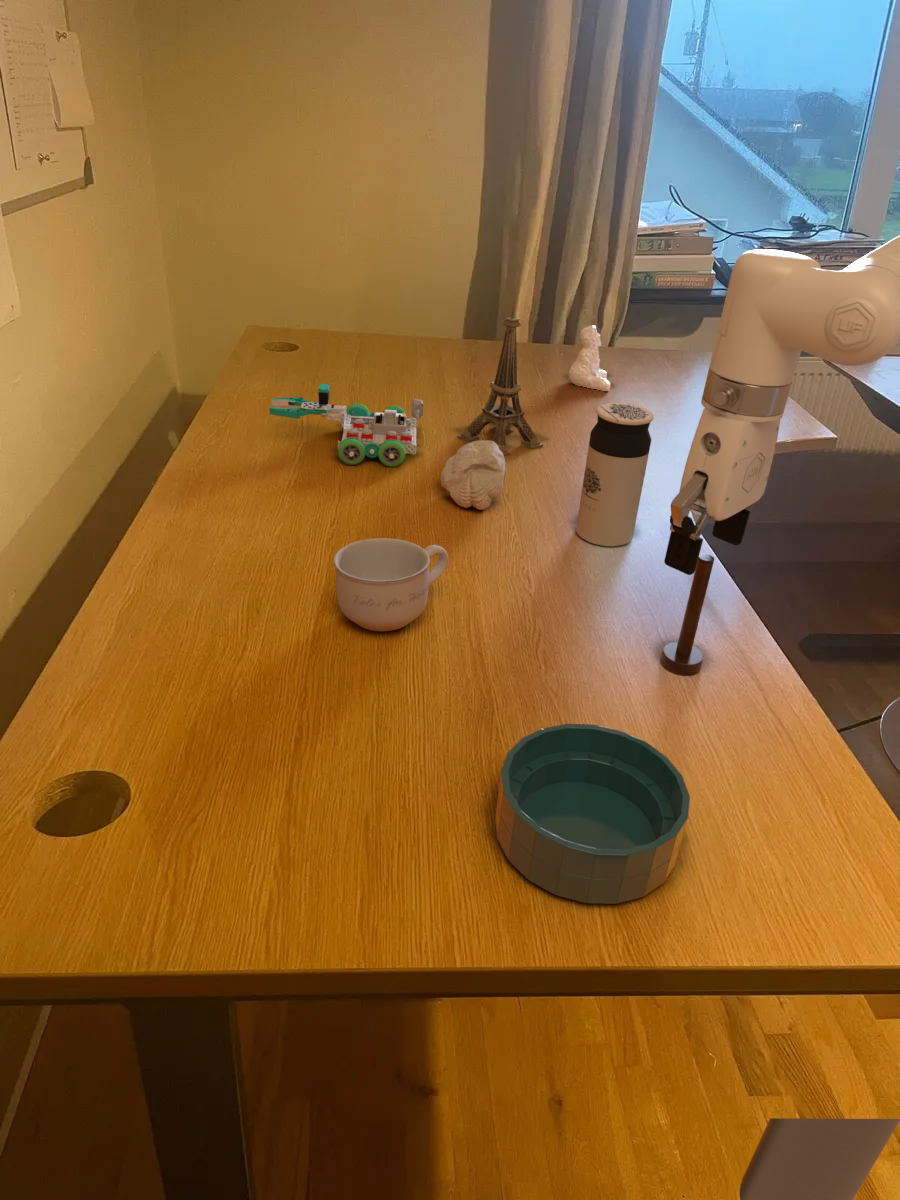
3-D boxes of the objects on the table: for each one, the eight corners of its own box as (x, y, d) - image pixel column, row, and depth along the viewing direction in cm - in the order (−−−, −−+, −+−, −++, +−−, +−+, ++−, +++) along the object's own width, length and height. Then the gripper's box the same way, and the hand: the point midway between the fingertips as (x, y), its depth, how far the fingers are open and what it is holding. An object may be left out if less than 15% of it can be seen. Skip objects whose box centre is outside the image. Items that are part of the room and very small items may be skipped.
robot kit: (277, 421, 154) (275, 368, 150) (421, 428, 156) (424, 376, 151) (262, 463, 139) (259, 405, 134) (422, 470, 140) (425, 413, 135)
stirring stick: (694, 653, 101) (721, 548, 94) (705, 676, 97) (733, 568, 90) (656, 652, 100) (680, 546, 93) (665, 675, 97) (691, 566, 90)
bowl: (652, 776, 82) (664, 726, 79) (695, 910, 69) (712, 857, 66) (489, 772, 82) (495, 721, 78) (502, 907, 69) (510, 852, 65)
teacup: (349, 649, 97) (349, 586, 93) (323, 599, 105) (322, 539, 101) (466, 629, 102) (472, 569, 98) (432, 583, 110) (436, 525, 106)
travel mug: (621, 521, 129) (643, 401, 120) (640, 547, 122) (665, 422, 113) (569, 522, 128) (587, 401, 118) (584, 548, 121) (605, 422, 112)
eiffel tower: (543, 446, 153) (562, 296, 140) (497, 457, 147) (512, 302, 134) (502, 426, 160) (517, 282, 147) (457, 437, 154) (468, 287, 141)
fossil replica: (458, 521, 126) (518, 516, 131) (469, 468, 121) (530, 465, 126) (422, 482, 134) (479, 479, 139) (431, 431, 130) (490, 429, 135)
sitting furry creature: (610, 393, 180) (620, 333, 174) (568, 390, 180) (576, 330, 174) (605, 379, 188) (614, 321, 182) (564, 376, 188) (572, 318, 182)
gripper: (737, 425, 75) (692, 597, 84) (822, 387, 86) (774, 543, 95) (661, 399, 79) (626, 566, 88) (751, 367, 90) (712, 518, 99)
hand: (703, 554), depth 92 cm, fingers open, 9 cm apart
